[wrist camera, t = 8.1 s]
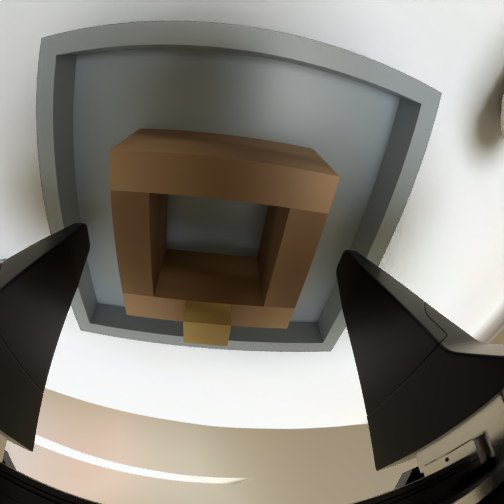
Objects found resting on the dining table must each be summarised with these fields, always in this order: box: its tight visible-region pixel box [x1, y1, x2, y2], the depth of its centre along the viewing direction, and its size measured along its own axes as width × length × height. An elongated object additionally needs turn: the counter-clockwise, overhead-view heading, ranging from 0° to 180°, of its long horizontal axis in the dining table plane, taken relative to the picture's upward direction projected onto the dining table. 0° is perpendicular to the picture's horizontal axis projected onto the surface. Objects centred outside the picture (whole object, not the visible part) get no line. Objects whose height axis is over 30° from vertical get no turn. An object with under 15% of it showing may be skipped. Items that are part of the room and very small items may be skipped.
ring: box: [109, 128, 340, 346], centre depth 10 cm, size 6×6×4 cm
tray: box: [36, 21, 442, 352], centre depth 11 cm, size 14×14×2 cm
